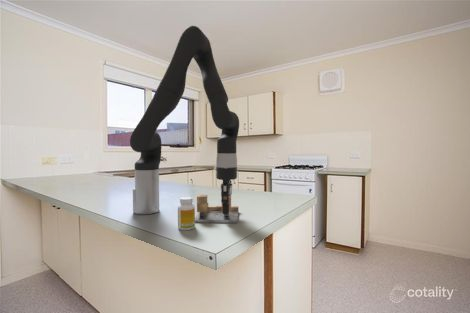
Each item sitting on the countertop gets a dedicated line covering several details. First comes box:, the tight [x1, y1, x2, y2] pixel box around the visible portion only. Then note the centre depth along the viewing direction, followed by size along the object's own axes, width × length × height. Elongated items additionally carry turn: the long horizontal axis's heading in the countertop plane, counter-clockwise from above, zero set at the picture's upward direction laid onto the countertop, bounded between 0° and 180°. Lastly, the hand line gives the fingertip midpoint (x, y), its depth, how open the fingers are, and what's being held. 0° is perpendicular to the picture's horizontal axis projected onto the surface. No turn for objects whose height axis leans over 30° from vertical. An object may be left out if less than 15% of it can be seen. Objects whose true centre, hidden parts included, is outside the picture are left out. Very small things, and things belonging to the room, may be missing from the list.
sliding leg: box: [221, 196, 232, 216], centre depth 86 cm, size 3×4×7 cm
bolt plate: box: [195, 211, 239, 224], centre depth 87 cm, size 15×11×1 cm
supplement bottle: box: [177, 196, 196, 231], centre depth 76 cm, size 5×5×10 cm
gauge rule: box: [196, 194, 239, 216], centre depth 89 cm, size 15×11×8 cm
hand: (226, 210), depth 86 cm, fingers open, 7 cm apart
